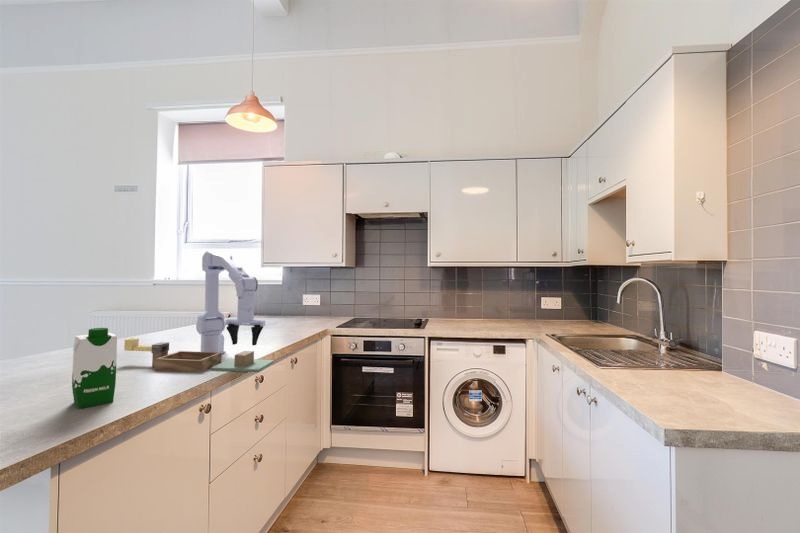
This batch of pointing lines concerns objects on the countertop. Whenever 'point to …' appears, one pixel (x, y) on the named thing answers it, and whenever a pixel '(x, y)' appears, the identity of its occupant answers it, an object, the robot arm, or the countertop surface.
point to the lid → (243, 363)
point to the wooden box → (182, 359)
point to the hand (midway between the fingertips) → (244, 344)
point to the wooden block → (136, 346)
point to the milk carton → (94, 368)
